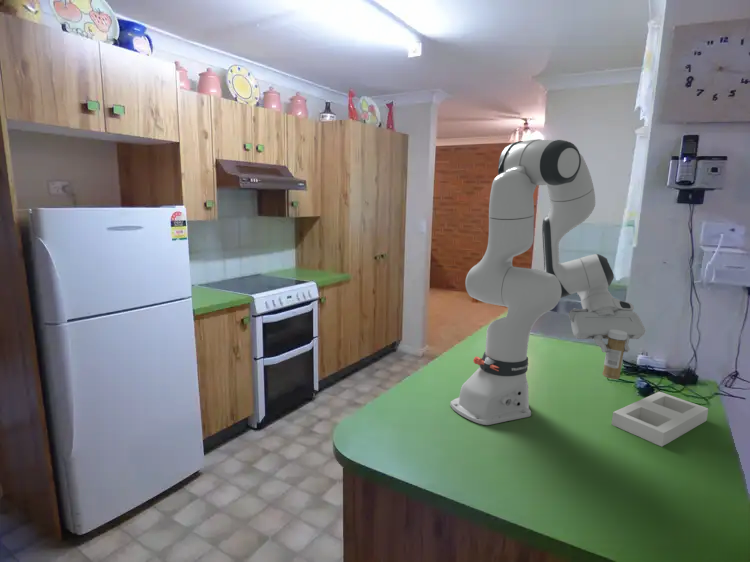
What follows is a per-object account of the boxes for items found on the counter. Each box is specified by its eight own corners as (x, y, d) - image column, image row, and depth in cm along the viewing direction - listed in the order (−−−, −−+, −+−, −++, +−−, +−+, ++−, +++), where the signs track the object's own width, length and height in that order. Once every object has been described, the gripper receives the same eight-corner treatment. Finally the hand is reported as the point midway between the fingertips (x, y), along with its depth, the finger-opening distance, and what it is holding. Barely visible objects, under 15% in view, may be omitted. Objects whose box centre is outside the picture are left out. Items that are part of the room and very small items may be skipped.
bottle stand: (661, 446, 103) (663, 433, 102) (611, 424, 113) (613, 411, 112) (706, 420, 116) (708, 408, 115) (657, 402, 125) (659, 391, 125)
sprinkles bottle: (623, 378, 124) (630, 332, 122) (614, 380, 121) (622, 334, 119) (607, 372, 128) (614, 328, 125) (598, 375, 125) (605, 329, 123)
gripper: (571, 303, 127) (586, 346, 119) (637, 304, 129) (656, 346, 121) (562, 314, 132) (575, 356, 124) (626, 314, 134) (643, 356, 126)
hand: (616, 351), depth 123 cm, fingers closed on sprinkles bottle, 4 cm apart
